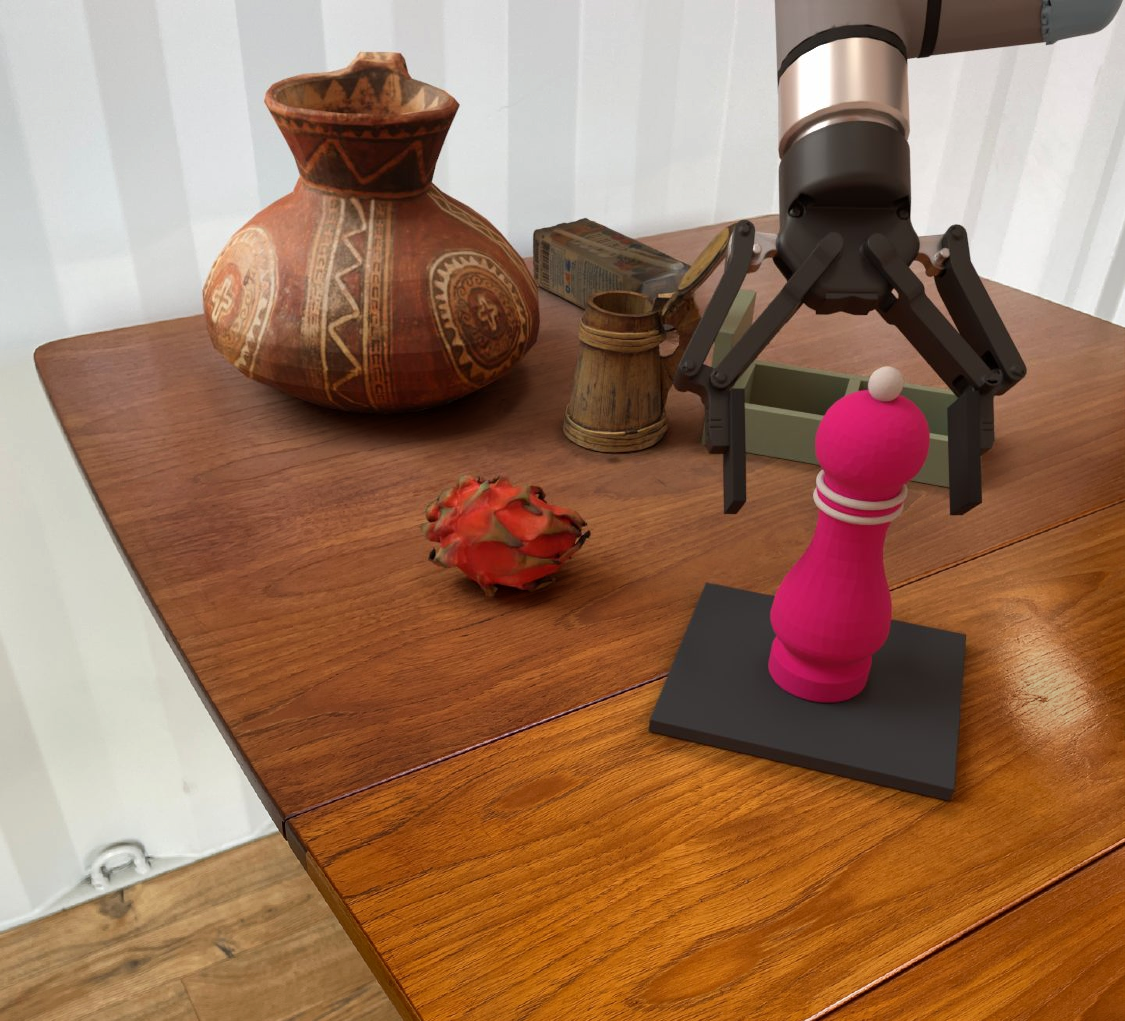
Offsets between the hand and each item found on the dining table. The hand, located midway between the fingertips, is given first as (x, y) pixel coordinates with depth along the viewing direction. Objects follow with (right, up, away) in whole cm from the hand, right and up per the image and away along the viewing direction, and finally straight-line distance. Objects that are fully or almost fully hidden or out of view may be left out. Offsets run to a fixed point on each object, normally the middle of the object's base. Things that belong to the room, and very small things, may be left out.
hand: (850, 509), depth 63 cm
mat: (-1, -10, +7) cm, 12 cm away
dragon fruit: (-21, -2, +16) cm, 26 cm away
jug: (-34, +21, +40) cm, 57 cm away
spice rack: (+7, +14, +33) cm, 37 cm away
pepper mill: (0, -9, +7) cm, 11 cm away
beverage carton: (-12, +35, +56) cm, 67 cm away
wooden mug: (-10, +14, +34) cm, 38 cm away
